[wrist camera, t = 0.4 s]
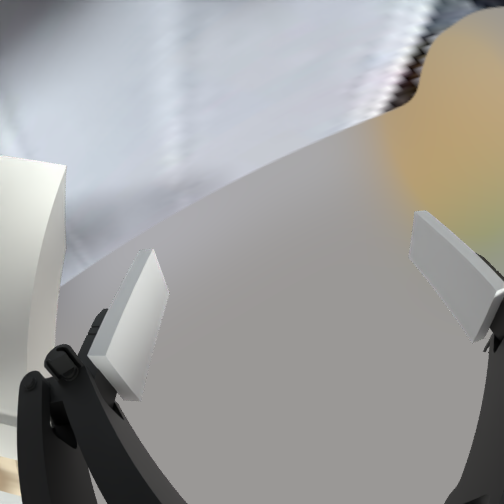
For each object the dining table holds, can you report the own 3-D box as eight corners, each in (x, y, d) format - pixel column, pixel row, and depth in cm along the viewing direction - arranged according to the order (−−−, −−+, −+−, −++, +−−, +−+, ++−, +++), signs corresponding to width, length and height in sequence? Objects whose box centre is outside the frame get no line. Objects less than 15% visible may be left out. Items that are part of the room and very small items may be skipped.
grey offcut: (-14, 471, 10) (-7, 496, 8) (-26, 480, 7) (-17, 507, 5) (27, 482, 12) (34, 506, 11) (20, 494, 9) (28, 520, 8)
